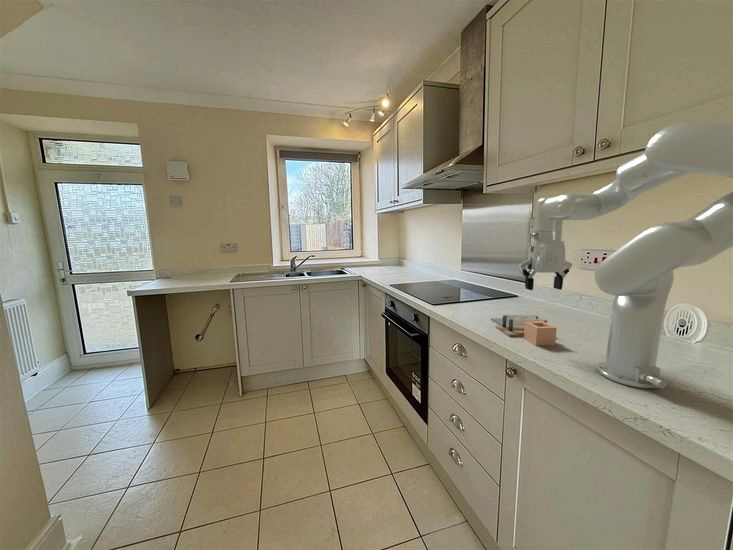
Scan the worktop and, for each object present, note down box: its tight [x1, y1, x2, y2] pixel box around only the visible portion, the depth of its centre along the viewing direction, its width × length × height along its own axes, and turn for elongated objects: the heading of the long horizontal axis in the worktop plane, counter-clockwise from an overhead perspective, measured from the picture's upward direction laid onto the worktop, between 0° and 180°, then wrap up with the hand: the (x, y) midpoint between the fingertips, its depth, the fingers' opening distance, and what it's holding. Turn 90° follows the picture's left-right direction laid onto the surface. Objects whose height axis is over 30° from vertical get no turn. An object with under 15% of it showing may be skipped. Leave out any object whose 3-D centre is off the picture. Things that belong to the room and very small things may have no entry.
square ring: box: [523, 321, 558, 347], centre depth 98 cm, size 7×7×6 cm
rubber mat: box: [490, 317, 525, 326], centre depth 119 cm, size 9×11×1 cm
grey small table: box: [502, 314, 548, 331], centre depth 108 cm, size 8×12×5 cm
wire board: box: [495, 325, 525, 338], centre depth 108 cm, size 10×16×1 cm, turn 93°
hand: (543, 289), depth 96 cm, fingers open, 9 cm apart
